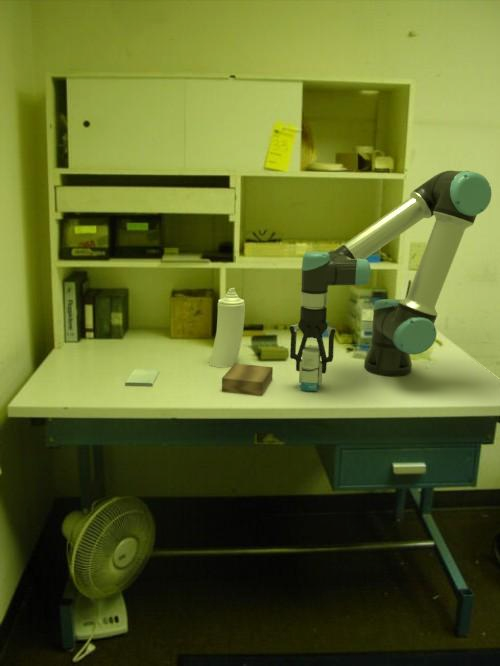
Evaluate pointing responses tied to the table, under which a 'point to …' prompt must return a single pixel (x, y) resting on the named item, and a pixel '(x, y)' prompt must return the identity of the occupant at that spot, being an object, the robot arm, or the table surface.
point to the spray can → (228, 330)
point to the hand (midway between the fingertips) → (310, 382)
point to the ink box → (310, 368)
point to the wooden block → (247, 379)
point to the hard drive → (142, 377)
